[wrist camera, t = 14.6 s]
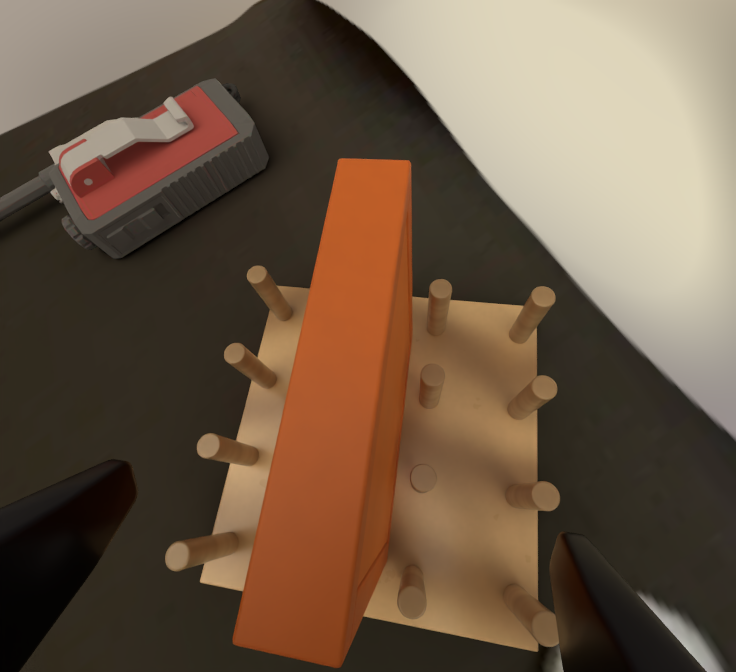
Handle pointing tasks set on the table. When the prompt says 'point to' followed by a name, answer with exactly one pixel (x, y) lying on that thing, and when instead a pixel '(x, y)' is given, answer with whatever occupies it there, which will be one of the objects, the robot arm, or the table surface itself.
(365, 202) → the lid
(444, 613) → the rack
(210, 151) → the walkie-talkie
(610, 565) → the robot arm
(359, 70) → the table surface
